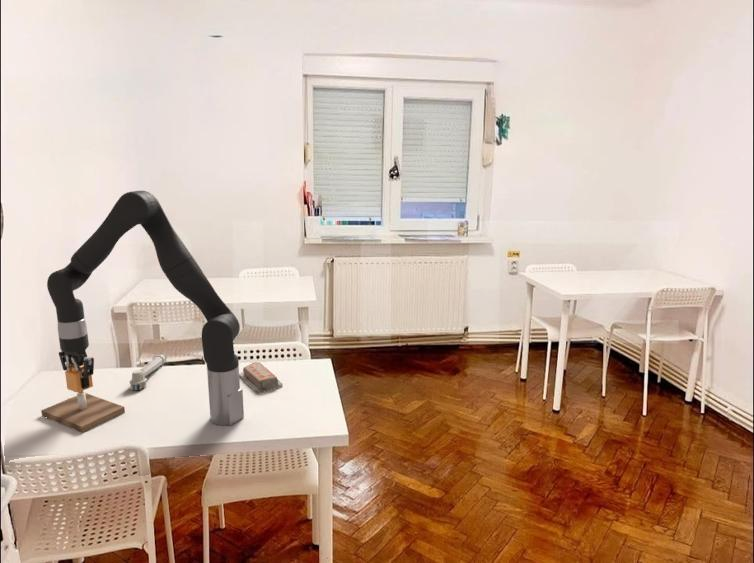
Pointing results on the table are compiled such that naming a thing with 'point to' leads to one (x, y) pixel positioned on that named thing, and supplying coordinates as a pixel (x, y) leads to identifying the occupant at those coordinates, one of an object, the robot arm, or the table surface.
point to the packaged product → (259, 378)
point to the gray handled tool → (146, 372)
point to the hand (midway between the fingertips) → (79, 385)
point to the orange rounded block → (75, 380)
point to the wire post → (82, 400)
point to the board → (83, 413)
